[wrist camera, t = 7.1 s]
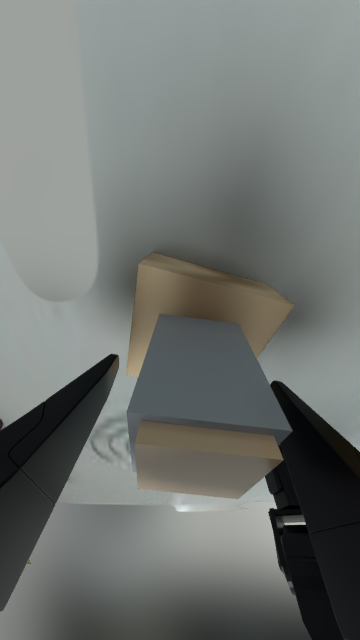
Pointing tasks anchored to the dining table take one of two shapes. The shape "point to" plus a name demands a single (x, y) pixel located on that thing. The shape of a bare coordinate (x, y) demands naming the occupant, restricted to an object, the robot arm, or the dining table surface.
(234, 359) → the grey box
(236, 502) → the dining table surface
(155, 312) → the block
